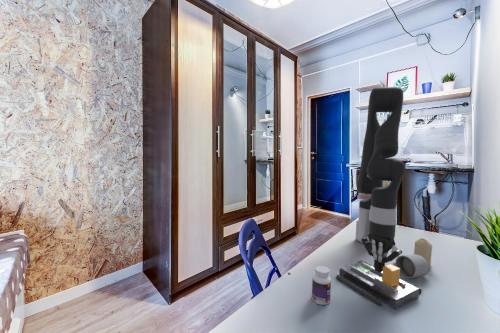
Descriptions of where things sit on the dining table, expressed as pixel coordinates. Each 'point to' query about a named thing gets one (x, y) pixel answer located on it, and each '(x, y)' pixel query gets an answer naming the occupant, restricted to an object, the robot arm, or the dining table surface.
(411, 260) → the ceramic mug
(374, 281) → the panel
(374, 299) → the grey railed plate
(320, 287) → the pill bottle
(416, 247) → the candle
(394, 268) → the lever
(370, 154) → the robot arm
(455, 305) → the dining table surface
